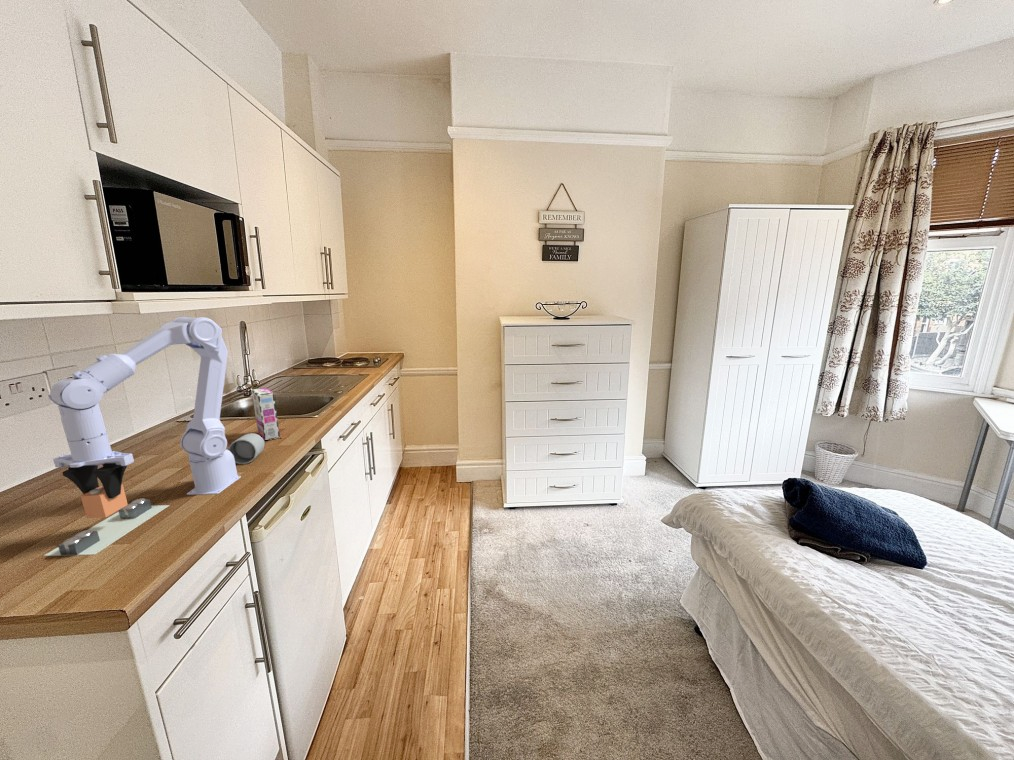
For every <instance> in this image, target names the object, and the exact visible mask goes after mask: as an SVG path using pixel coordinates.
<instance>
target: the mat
mask: <svg viewBox="0 0 1014 760" xmlns="http://www.w3.org/2000/svg"><path fill="white" fill-rule="evenodd" d="M151 506H152V508H151V509H149V510H148V511H146V512H144V513H143V514H141V515H140V516H138V517H137V518H135V519H120V515H119V511H116V512H115V513H113V514H111V515H109V516H108V517H106V518H104V520H102V521H100V522H98V523H97V524H95V525H93V526H92V527H90V528H88V529H87V530H92V531H97V532H98V535H99V539H100V541H98V542H97V543H95V544H94V545H92V546H91V547H89V548H87V549H86V550H84V551H83V552H81V553H79V554H78V555H77V556H91V555H93V556H94V555H97V554H98V553H99V552H101V551H102V550H104V549H105V548H107V547H108V546H110V545H112V544H113V543H115V542H116V541H118V540H120V539H121V538H122V537H124V536H126V535H127V534H128V533H130V532H131V531H133V530H135V529H136V528H137V527H139V526H141V525H143V524H144V523H146V522H147V521H148V520H150V519H151V518H153V517H155V516H156V515H158V514H159V513H161V512H162V511H163V510H165V509H167V508H168V507H170V505H167V504H165V505H161V504H160V505H151ZM43 556H44V557H46V556H47V557H48V556H49V557H51V556H52V557H53V556H55V557H56V556H58V557H59V556H62V555H61V554H60V551H59V548H58V546H57V547H56V548H54V549H52V550H50V551H49V552H47V553H45V554H44V555H43Z"/></svg>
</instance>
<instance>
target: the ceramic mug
mask: <svg viewBox="0 0 1014 760" xmlns="http://www.w3.org/2000/svg"><path fill="white" fill-rule="evenodd" d="M264 448H265V440H264V439H263V438H262V437H261V436H260V435H259V433H258V434H257V433H254V432H253V433H251V432H249V433H245V434H244V435H242V436H240V437H239V438H237V439H235V440H234V441H232V442H231V443H230V445H229V446H228V448H227V450H229V451H230V452H231V453H232V454H233V456H234V459H235V464H239V465H247V464H249V463H250V464H251V462H253V461H254V460H255V459H256V458H257V457H258V456H259V455H260V454H261V453H262V452H263V450H264Z"/></svg>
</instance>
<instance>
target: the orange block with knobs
mask: <svg viewBox="0 0 1014 760" xmlns="http://www.w3.org/2000/svg"><path fill="white" fill-rule="evenodd" d="M80 499H81V502H82V506H83V509H84V513H85V517H86V518H87V519H96V518H101V519H103V518H104V519H105V518H109V517H110V516H112V515H114V514H115V513H117V512H119V511H118V510H120V509H121V508H123V507H125V506H127V505H128V504H129V503H128V501H127V500H128V499H127V496H126V491H125V488H124V485H123V483H122V484H121V494H119V495H118V496H116V497H114V498H108V496H107V495H106V492H105V489H104V487H103V485H102V484H101V485H99V487H98V488H96V489H94V490H91V491H90V492H88V493H86V494H81V495H80Z"/></svg>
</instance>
